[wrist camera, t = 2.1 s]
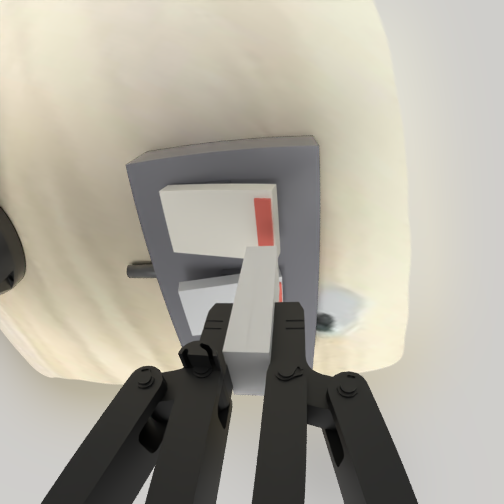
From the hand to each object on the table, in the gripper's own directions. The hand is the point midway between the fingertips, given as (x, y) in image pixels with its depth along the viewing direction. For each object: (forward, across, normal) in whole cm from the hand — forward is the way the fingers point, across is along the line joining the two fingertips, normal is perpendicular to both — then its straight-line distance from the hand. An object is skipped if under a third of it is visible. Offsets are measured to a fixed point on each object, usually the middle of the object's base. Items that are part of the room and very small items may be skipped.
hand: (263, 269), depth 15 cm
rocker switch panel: (+11, -6, -7) cm, 15 cm away
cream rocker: (+6, -3, 0) cm, 7 cm away
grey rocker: (+6, -3, -7) cm, 10 cm away
